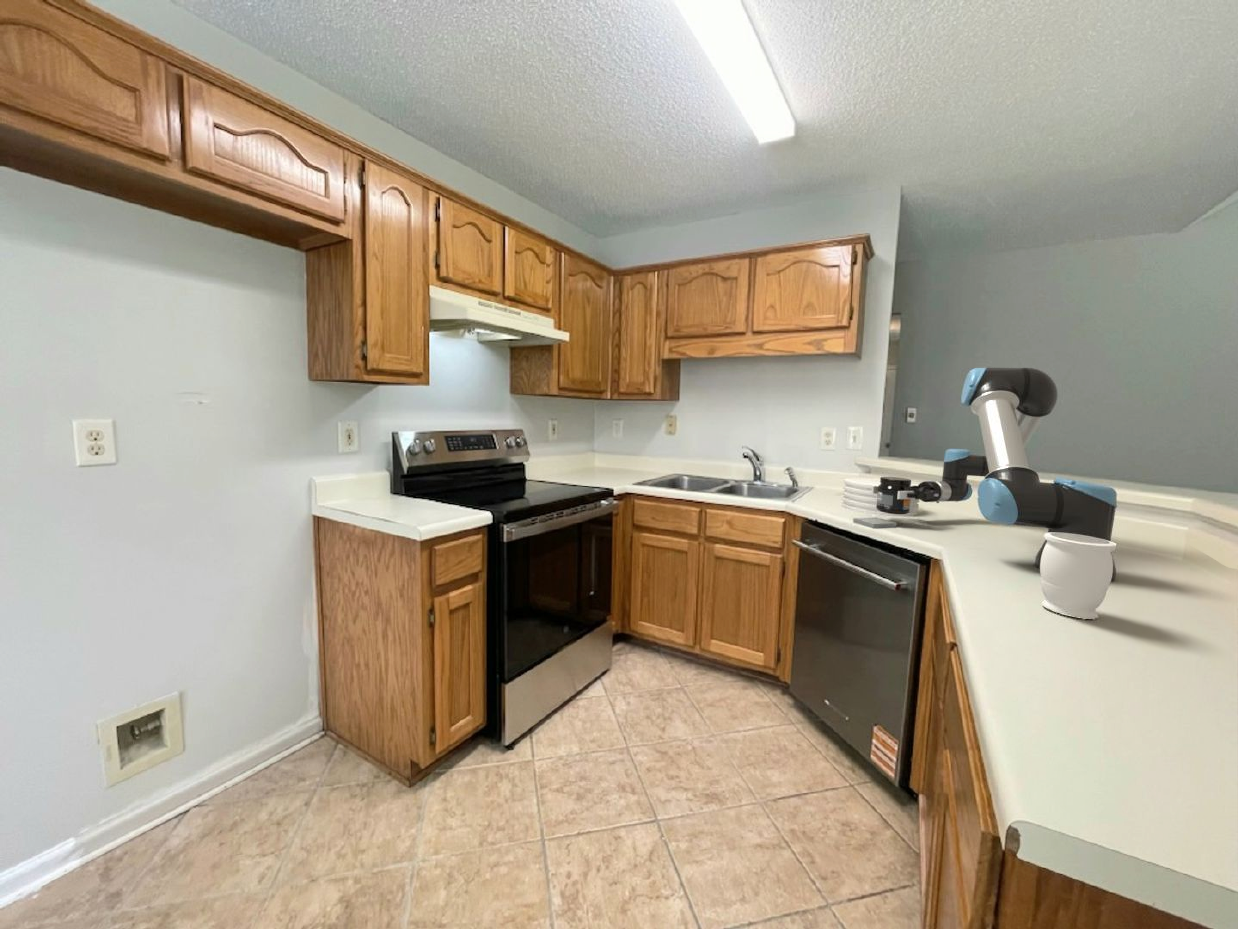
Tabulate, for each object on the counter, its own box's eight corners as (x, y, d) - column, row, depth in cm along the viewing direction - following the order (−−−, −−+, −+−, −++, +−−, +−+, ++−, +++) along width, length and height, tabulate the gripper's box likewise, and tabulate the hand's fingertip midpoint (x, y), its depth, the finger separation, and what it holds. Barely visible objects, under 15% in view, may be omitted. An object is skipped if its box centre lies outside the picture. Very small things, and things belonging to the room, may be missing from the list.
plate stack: (933, 518, 189) (936, 489, 188) (859, 515, 190) (862, 486, 189) (895, 504, 217) (897, 479, 215) (831, 502, 218) (833, 476, 216)
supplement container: (915, 513, 172) (918, 479, 171) (900, 516, 166) (904, 481, 165) (884, 507, 181) (888, 475, 180) (869, 510, 175) (873, 477, 174)
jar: (1113, 628, 90) (1125, 548, 88) (1040, 614, 95) (1050, 539, 94) (1096, 609, 99) (1106, 537, 97) (1030, 597, 104) (1039, 529, 103)
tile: (875, 517, 178) (853, 518, 175) (896, 523, 169) (873, 524, 166) (875, 522, 178) (853, 523, 175) (895, 528, 169) (873, 529, 166)
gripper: (962, 507, 168) (912, 509, 161) (905, 496, 190) (859, 497, 183) (964, 486, 167) (914, 487, 160) (907, 477, 189) (860, 477, 182)
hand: (885, 492), depth 172 cm, fingers closed on supplement container, 10 cm apart
